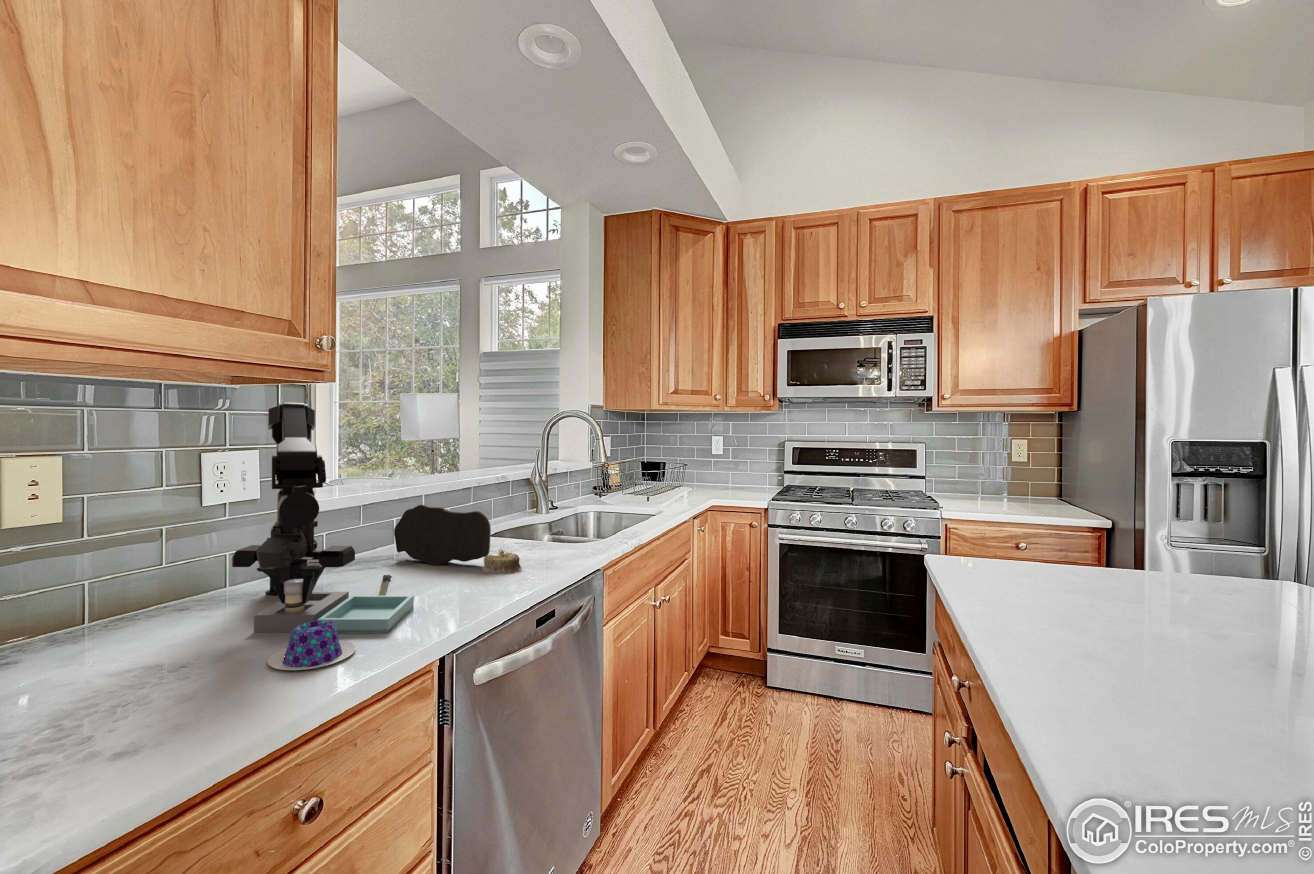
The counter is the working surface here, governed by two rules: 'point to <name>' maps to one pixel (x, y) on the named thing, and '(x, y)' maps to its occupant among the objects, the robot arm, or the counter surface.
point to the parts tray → (369, 613)
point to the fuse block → (286, 622)
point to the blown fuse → (293, 596)
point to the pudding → (312, 647)
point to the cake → (501, 563)
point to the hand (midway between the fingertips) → (294, 602)
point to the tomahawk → (384, 585)
